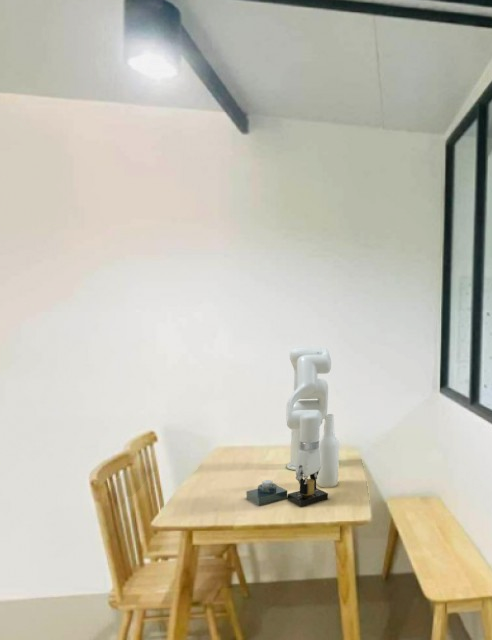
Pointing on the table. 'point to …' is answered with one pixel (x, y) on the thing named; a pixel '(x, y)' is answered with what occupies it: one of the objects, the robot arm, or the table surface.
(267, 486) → the light grey short cylinder
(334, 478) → the alcohol
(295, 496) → the dial plate
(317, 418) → the robot arm
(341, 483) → the table surface
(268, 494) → the push button box
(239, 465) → the table surface
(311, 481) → the dial
